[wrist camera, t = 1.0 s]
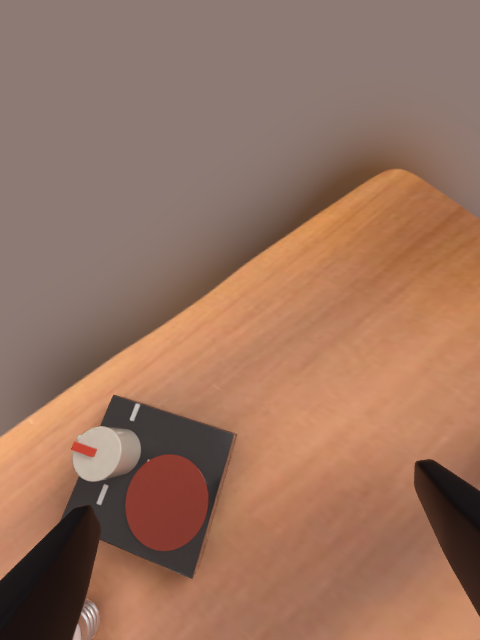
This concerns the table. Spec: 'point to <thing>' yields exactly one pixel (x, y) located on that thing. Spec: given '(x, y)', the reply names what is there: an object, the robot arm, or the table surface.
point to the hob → (155, 439)
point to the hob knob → (105, 453)
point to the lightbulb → (87, 622)
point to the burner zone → (167, 502)
